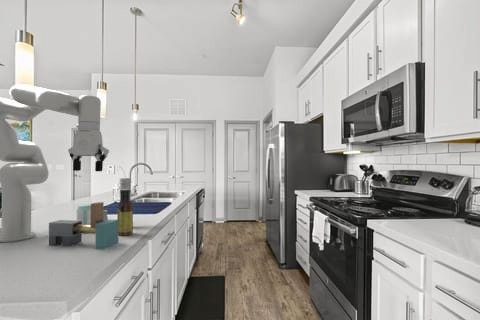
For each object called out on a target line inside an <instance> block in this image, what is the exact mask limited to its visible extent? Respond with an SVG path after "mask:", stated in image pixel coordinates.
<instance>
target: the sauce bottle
mask: <svg viewBox="0 0 480 320" xmlns="http://www.w3.org/2000/svg"><path fill="white" fill-rule="evenodd" d="M120 194H121V195H120ZM120 196H121V198H120ZM116 211H117V214H116V215H117V219H116V220H119V224H118V236H121V237H122V236H124V237H125V236H130V235H132V234H133V230H134V210H133V203H132V201H131V188H130V189H121V190H120V189H119V203H118V206H117V209H116Z"/></svg>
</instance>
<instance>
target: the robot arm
mask: <svg viewBox="0 0 480 320" xmlns="http://www.w3.org/2000/svg"><path fill="white" fill-rule="evenodd" d="M9 95H10V98H11V99H12V100H11V99H8V98H3V97H0V161H1V162H5V163H6V162H7V163H6V164H4V165H3V166H1V167H0V187H1V224H0V225H1V227H0V243H9V242H10V243H12V242H17V241H18V242H19V241H25V240H28V239H31V238H34V237H35V236H36V232H34V231H32V193H31V190H30V189H29V188H28V186H27V185H31V186H32V185H39V184H43V183H45V182H46V181H47V180H48V178H49V169H48V165H47V163H46V160H45V157H44V155H43V151H42V149H41V147H40V146H39V145H38V144H37V143H34V142H32V141H27V140H21V139H19V138H18V137H19V136H18V135H17V131H16V130H15V128H14V127H13V126H12V125H11V124H10V123H9V122H8V121H6V120H11V121H16V122H29V121H32V120H33V119H34V118H36V117H37V116H38V115H40V114H42V113H43V112H44V111H46V110H50V111H52V112H58V113H60V114H61V113H62V114H67V115H70V116H74V117H78V119H77V120H78V121H77V124H76V128H77V129H76V130H75V132H74V137H73V142H72V146H71V147H70V148H68V150H67V152H68V154H69V157H70V158H71V160H72V163H73V166H72V170H73V172H76V171H78V172H79V171H81V169H82V161H81V159H82V158H83V157H94V158H95V159H96V160H95V164H94V165H95V167H94V168H95V169H94V171H95V172H102V171H103V166H104V165H103V164H104V163H103V162H104V161H105V160H106V158H107V157H108V155H109V153H110V150H109V149H108V148H106V147H104V146H103V135H102V131H101V109H102V108H101V105H102V104H101V103H102V101H101V99H100V98H99V97H98V96H95V95H88V94H84V95H83V94H82V95H81V96H79V97H77V96H75V95H72V94H68V93H65V92H61V91H57V90H54V89H53V90H52V89H47V88H43V87H38V86H33V85H28V84H23V83H22V84H15V85H13V86H12V87H11V88H10V89H9Z"/></svg>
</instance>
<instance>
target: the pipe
mask: <svg viewBox="0 0 480 320" xmlns="http://www.w3.org/2000/svg"><path fill="white" fill-rule="evenodd" d="M119 168H120V169H121V170H122V171H123V173H124V177H120V178H119V182H118V184H119V191H120V190H121V189H130V190H131V184H132V178H131V177H126V172H125V170H124V169H123V168H122V167H121V166H119ZM120 195H121V194H120V193H119V199H120V198H121V196H120Z"/></svg>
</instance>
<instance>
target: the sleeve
mask: <svg viewBox="0 0 480 320" xmlns="http://www.w3.org/2000/svg"><path fill="white" fill-rule="evenodd" d="M73 224H82V221H77V220H71V219H70V220H69V219H67V220H66V219H65V220H64V219H60V220H59V219H58V220H55V221H50V222H49V223H48V247H49V246H51V247H54V246H55V247H56V246H59V245H62V247H72V246H75V245H77V244H80V243H83V241H82V239H83V236H82V235H83V233H73Z"/></svg>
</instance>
